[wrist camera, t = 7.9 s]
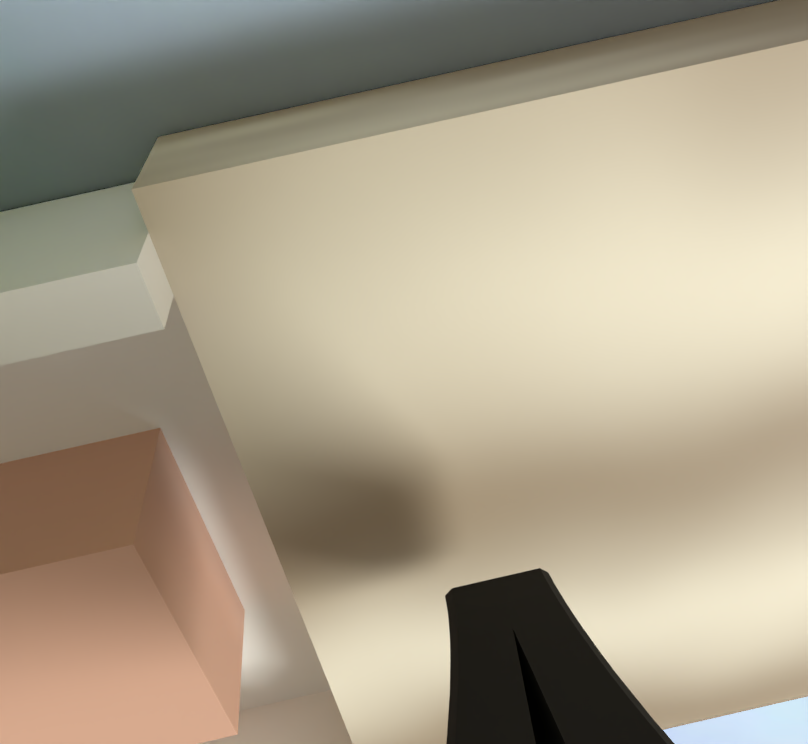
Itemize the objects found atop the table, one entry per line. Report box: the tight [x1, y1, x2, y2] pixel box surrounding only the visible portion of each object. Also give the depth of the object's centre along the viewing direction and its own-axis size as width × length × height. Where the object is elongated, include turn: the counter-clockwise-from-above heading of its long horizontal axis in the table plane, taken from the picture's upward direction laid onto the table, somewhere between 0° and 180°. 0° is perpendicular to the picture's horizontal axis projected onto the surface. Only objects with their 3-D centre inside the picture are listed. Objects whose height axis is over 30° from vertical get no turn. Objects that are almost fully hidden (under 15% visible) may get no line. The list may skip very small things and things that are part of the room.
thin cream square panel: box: [131, 0, 808, 744], centre depth 13 cm, size 13×12×2 cm
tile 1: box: [0, 428, 245, 744], centre depth 12 cm, size 4×4×2 cm
